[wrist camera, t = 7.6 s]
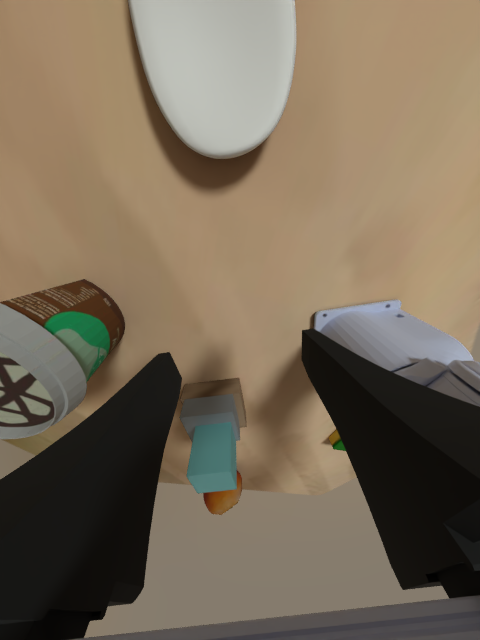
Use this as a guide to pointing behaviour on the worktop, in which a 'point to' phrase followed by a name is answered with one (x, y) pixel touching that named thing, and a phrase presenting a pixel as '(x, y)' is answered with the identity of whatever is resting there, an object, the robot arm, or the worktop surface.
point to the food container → (52, 353)
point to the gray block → (210, 413)
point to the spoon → (218, 68)
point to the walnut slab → (218, 393)
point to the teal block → (213, 458)
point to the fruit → (223, 498)
